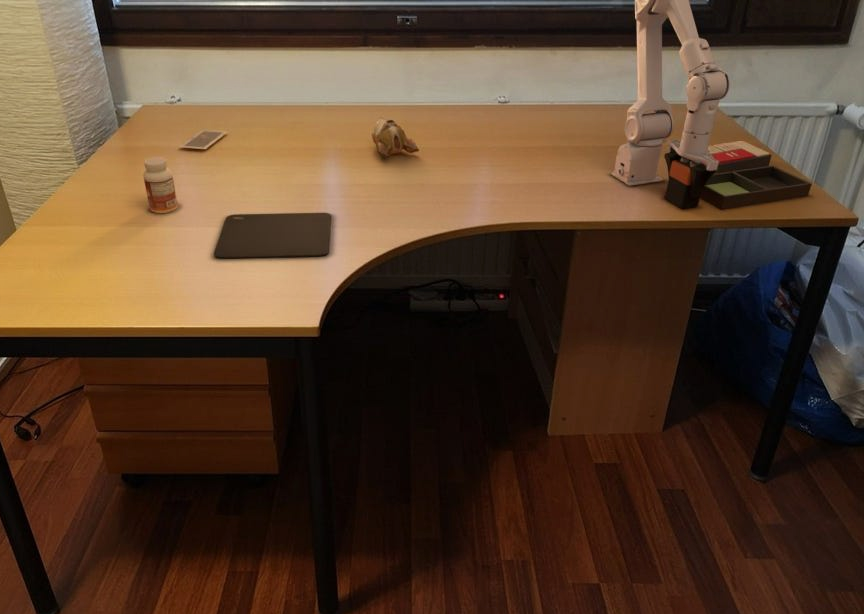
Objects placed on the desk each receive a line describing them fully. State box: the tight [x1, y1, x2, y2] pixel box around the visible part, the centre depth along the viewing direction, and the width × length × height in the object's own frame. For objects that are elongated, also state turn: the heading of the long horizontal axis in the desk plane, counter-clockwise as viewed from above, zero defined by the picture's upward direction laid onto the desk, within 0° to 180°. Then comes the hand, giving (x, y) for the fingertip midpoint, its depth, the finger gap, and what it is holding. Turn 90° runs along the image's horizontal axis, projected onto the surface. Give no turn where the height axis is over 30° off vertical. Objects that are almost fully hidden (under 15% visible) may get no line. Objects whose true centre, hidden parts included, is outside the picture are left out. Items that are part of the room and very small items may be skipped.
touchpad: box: [178, 128, 229, 150], centre depth 203 cm, size 8×15×2 cm, turn 166°
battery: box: [664, 157, 701, 210], centre depth 165 cm, size 4×7×10 cm, turn 19°
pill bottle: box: [143, 156, 178, 214], centre depth 164 cm, size 6×6×11 cm
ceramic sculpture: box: [371, 116, 420, 158], centre depth 194 cm, size 11×9×15 cm
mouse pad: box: [213, 212, 332, 259], centre depth 155 cm, size 23×20×1 cm
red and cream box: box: [708, 140, 772, 174], centre depth 186 cm, size 11×4×15 cm
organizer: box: [700, 165, 813, 211], centre depth 171 cm, size 24×12×3 cm, turn 108°
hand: (683, 190), depth 166 cm, fingers closed on battery, 7 cm apart
